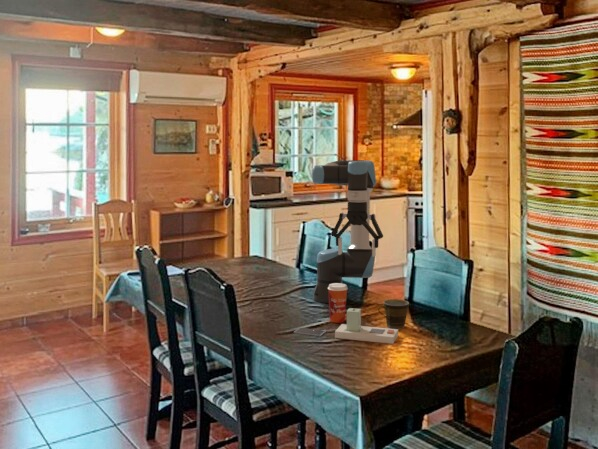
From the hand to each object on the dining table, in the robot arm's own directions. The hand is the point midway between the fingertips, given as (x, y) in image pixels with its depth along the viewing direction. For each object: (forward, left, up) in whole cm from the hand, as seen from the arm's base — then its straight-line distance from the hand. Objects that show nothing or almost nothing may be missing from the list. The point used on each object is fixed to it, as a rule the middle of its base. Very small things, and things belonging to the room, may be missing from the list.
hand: (356, 255), depth 247 cm
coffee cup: (-5, -9, -29) cm, 31 cm away
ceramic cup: (-3, +14, -29) cm, 32 cm away
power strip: (+12, +7, -29) cm, 32 cm away
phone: (+14, -15, -29) cm, 36 cm away
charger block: (+12, +2, -29) cm, 31 cm away
